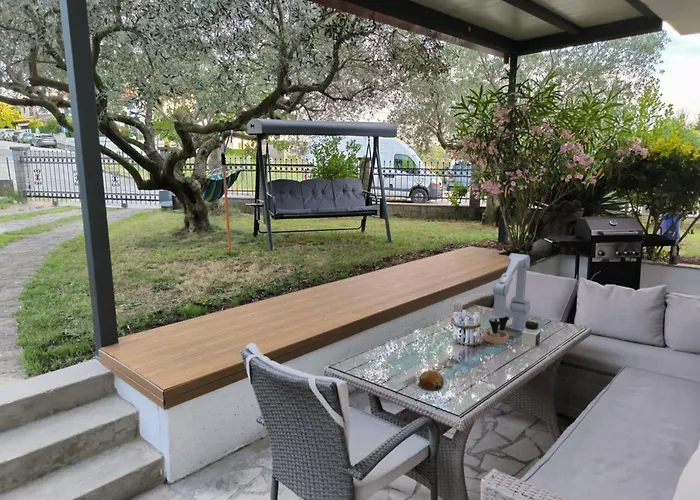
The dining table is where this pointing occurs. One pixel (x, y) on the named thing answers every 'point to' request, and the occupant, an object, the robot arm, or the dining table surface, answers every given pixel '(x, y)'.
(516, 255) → the robot arm
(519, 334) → the parts tray
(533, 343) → the medicine bottle
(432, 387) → the bread roll
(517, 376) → the dining table surface
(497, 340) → the bowl
